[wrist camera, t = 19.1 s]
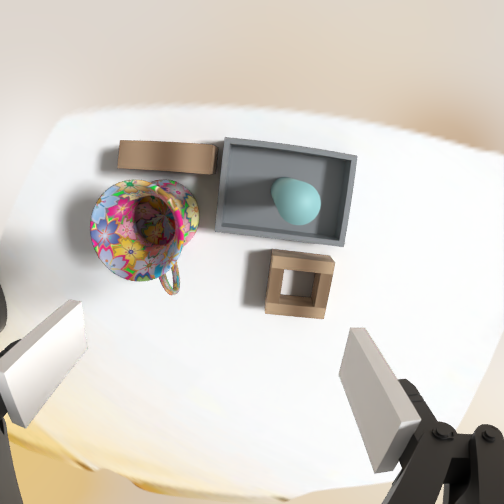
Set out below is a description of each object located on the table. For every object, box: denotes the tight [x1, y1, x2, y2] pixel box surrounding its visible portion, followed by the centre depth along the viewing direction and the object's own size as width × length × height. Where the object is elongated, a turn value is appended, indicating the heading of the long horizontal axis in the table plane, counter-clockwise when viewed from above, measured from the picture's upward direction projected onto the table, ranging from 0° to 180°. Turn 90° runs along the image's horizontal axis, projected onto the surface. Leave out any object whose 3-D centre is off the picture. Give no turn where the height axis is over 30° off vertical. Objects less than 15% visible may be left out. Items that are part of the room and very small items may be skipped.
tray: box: [215, 137, 357, 247], centre depth 35 cm, size 14×10×4 cm
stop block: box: [118, 140, 218, 174], centre depth 34 cm, size 10×3×5 cm, turn 83°
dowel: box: [271, 177, 321, 225], centre depth 29 cm, size 3×3×13 cm
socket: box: [265, 249, 335, 319], centre depth 38 cm, size 7×7×3 cm
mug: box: [90, 180, 199, 295], centre depth 33 cm, size 12×9×11 cm
